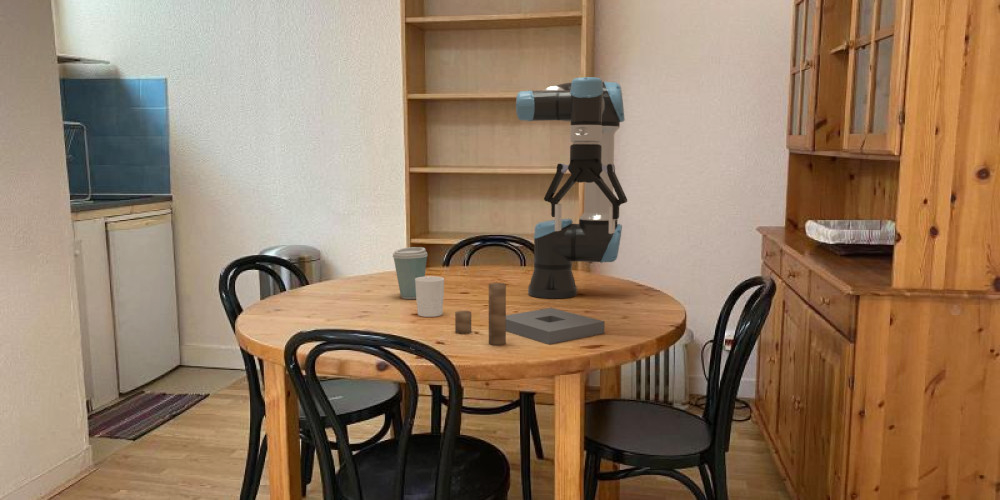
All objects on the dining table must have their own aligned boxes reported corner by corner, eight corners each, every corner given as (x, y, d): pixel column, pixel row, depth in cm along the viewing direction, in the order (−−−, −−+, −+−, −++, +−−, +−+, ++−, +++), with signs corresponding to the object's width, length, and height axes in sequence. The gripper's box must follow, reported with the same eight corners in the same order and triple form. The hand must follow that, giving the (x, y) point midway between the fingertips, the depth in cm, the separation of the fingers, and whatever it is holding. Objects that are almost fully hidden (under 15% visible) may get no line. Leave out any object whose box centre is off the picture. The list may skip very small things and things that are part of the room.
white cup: (422, 318, 205) (421, 282, 204) (411, 313, 212) (410, 277, 211) (449, 315, 209) (448, 279, 207) (437, 310, 216) (437, 275, 214)
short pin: (452, 331, 191) (452, 312, 190) (465, 329, 193) (465, 309, 193) (461, 334, 188) (461, 314, 187) (474, 332, 190) (474, 312, 189)
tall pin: (485, 342, 180) (485, 284, 178) (498, 340, 182) (498, 282, 180) (495, 346, 177) (495, 286, 175) (509, 343, 179) (509, 284, 177)
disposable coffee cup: (413, 302, 227) (413, 252, 225) (385, 298, 232) (384, 249, 230) (435, 296, 236) (434, 248, 234) (407, 292, 241) (407, 245, 239)
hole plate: (497, 328, 194) (497, 316, 194) (551, 318, 205) (551, 307, 205) (548, 344, 178) (548, 331, 178) (604, 333, 189) (604, 321, 189)
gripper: (531, 143, 185) (530, 231, 188) (633, 143, 175) (631, 235, 178) (542, 144, 192) (541, 228, 195) (641, 143, 182) (638, 232, 185)
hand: (584, 232), depth 186 cm, fingers open, 13 cm apart
